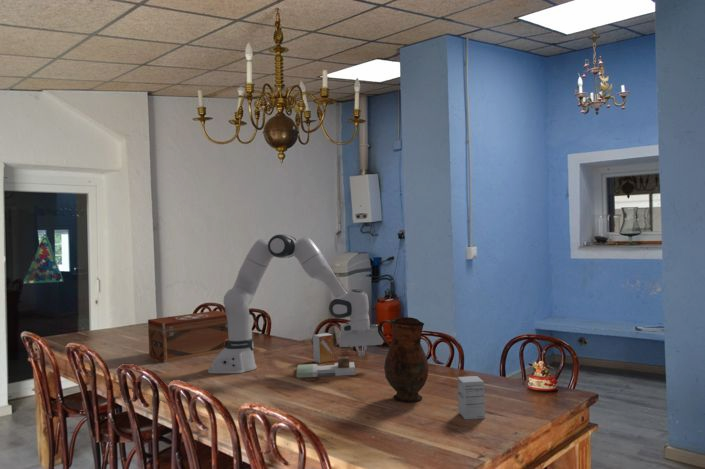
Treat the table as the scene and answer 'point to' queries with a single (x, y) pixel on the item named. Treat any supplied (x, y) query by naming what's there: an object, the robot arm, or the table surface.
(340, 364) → the walnut block
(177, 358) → the wooden box
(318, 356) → the small box
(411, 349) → the pitcher
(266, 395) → the table surface
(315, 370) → the trap lane
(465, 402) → the supplement box
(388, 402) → the table surface
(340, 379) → the table surface
